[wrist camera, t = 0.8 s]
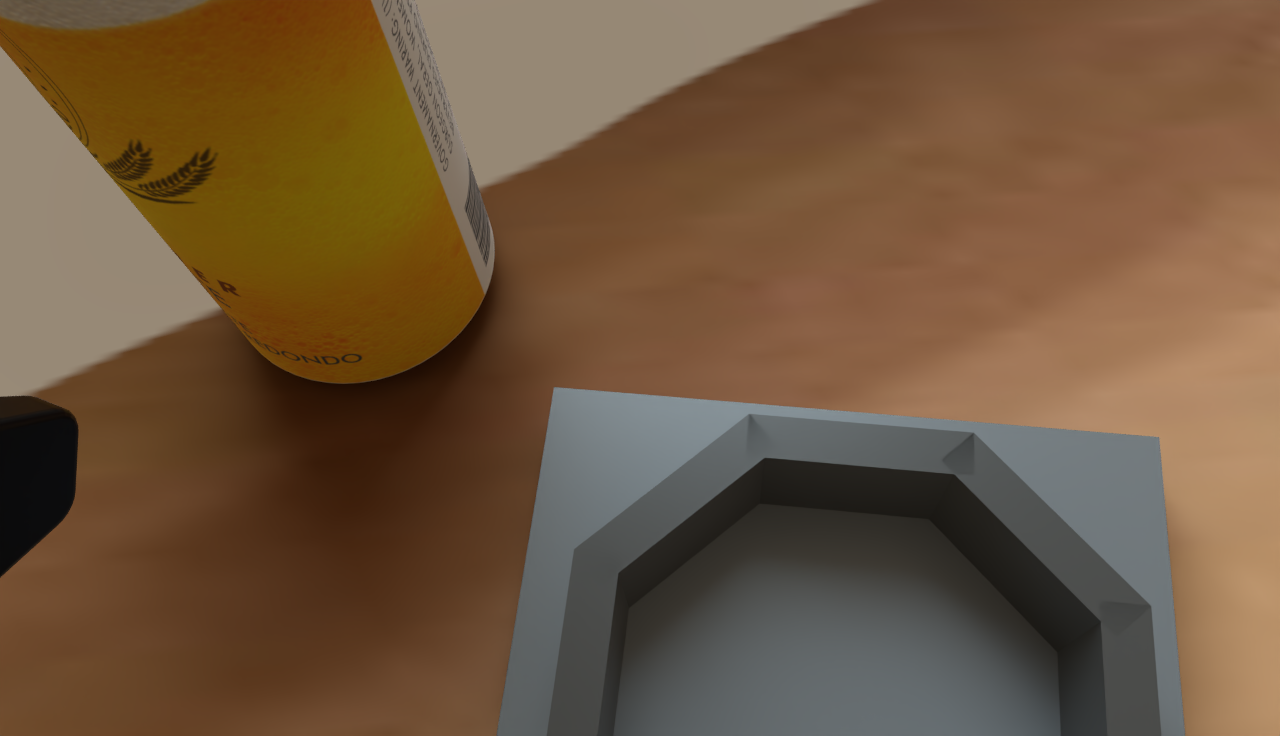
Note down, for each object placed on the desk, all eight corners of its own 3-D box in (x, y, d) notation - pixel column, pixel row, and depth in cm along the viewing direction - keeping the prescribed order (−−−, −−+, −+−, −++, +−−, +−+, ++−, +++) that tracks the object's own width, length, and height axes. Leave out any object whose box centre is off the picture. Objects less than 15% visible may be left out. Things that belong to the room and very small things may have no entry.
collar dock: (1185, 1160, 18) (1304, 1227, 14) (461, 1052, 19) (401, 1088, 16) (1132, 464, 23) (1211, 383, 19) (563, 415, 24) (536, 331, 21)
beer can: (233, 209, 27) (-247, -471, 14) (473, 148, 27) (239, -575, 14) (259, 429, 24) (-302, -144, 11) (525, 359, 25) (297, -282, 11)
